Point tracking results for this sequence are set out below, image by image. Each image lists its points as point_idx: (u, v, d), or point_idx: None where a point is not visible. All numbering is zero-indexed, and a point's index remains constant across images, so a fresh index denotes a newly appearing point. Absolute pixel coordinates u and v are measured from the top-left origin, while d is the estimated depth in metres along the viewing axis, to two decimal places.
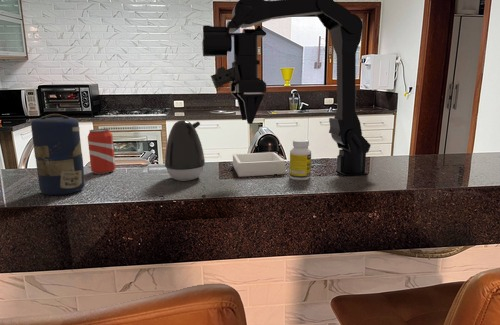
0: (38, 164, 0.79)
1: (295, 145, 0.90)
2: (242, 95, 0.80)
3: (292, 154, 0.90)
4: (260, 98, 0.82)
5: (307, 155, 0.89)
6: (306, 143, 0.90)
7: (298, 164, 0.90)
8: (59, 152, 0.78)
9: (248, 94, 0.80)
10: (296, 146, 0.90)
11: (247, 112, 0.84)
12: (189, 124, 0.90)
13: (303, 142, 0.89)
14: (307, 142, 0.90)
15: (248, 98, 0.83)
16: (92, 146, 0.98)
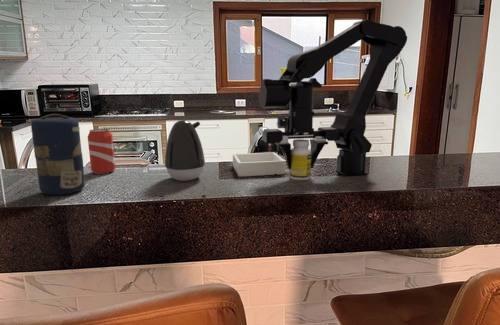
0: (38, 164, 0.79)
1: (295, 145, 0.90)
2: None
3: (292, 154, 0.90)
4: None
5: (307, 155, 0.89)
6: (306, 143, 0.90)
7: (299, 164, 0.90)
8: (59, 152, 0.78)
9: None
10: (296, 146, 0.90)
11: (285, 158, 0.92)
12: (189, 124, 0.90)
13: (303, 142, 0.89)
14: (307, 142, 0.90)
15: None
16: (92, 146, 0.98)
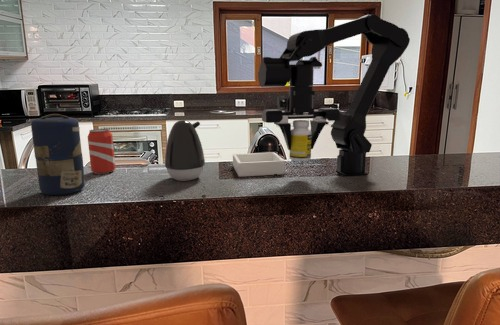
0: (38, 164, 0.79)
1: (295, 125, 0.89)
2: (274, 122, 0.91)
3: (292, 135, 0.89)
4: None
5: (307, 135, 0.88)
6: (306, 123, 0.89)
7: (299, 144, 0.89)
8: (59, 152, 0.78)
9: (275, 122, 0.90)
10: (296, 126, 0.89)
11: (285, 139, 0.91)
12: (189, 124, 0.90)
13: (303, 122, 0.88)
14: (307, 122, 0.89)
15: None
16: (92, 146, 0.98)
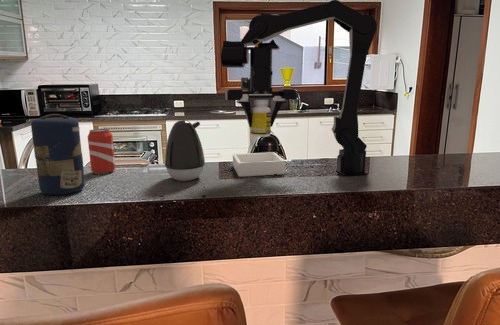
0: (38, 164, 0.79)
1: (255, 104, 0.96)
2: (236, 101, 0.98)
3: (253, 112, 0.96)
4: None
5: (266, 113, 0.95)
6: (265, 102, 0.95)
7: (258, 121, 0.96)
8: (59, 152, 0.78)
9: (237, 101, 0.97)
10: (256, 104, 0.96)
11: (246, 116, 0.98)
12: (189, 124, 0.90)
13: (262, 100, 0.95)
14: (266, 101, 0.96)
15: None
16: (92, 146, 0.98)
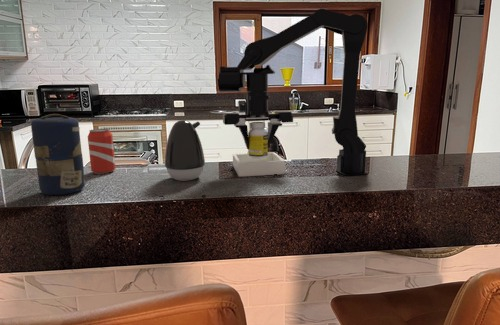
0: (38, 164, 0.79)
1: (252, 127, 0.98)
2: (234, 124, 1.01)
3: (250, 135, 0.98)
4: None
5: (263, 136, 0.98)
6: (262, 125, 0.98)
7: (255, 144, 0.98)
8: (59, 152, 0.78)
9: (234, 124, 0.99)
10: (253, 127, 0.98)
11: (244, 139, 1.01)
12: (189, 124, 0.90)
13: (259, 124, 0.98)
14: (263, 124, 0.98)
15: None
16: (92, 146, 0.98)
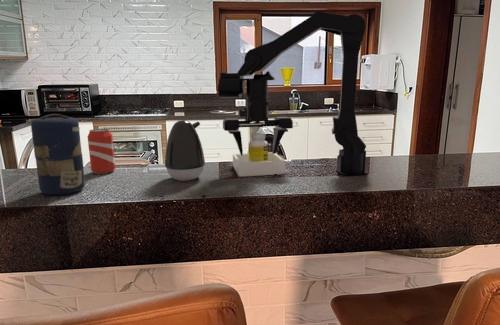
0: (38, 164, 0.79)
1: (252, 137, 0.99)
2: None
3: (250, 146, 0.99)
4: None
5: (263, 147, 0.98)
6: (262, 136, 0.99)
7: (255, 155, 0.99)
8: (59, 152, 0.78)
9: (228, 130, 0.99)
10: (253, 138, 0.99)
11: (238, 145, 1.01)
12: (189, 124, 0.90)
13: (259, 135, 0.98)
14: (263, 135, 0.99)
15: None
16: (92, 146, 0.98)
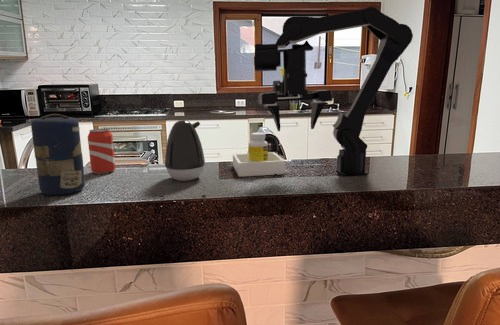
0: (38, 164, 0.79)
1: (252, 138, 0.99)
2: None
3: (250, 146, 0.99)
4: None
5: (263, 147, 0.98)
6: (262, 136, 0.99)
7: (255, 155, 0.99)
8: (59, 152, 0.78)
9: (264, 105, 0.95)
10: (253, 138, 0.99)
11: (274, 120, 0.96)
12: (189, 124, 0.90)
13: (259, 135, 0.98)
14: (263, 135, 0.99)
15: None
16: (92, 146, 0.98)
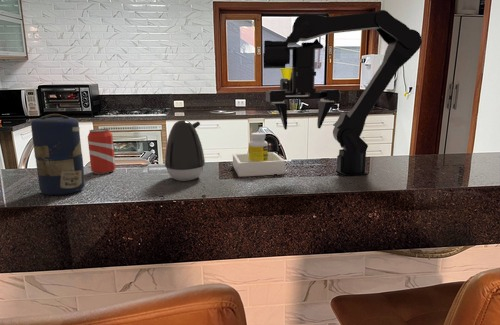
0: (38, 164, 0.79)
1: (252, 137, 0.99)
2: None
3: (250, 146, 0.99)
4: None
5: (263, 147, 0.98)
6: (262, 136, 0.99)
7: (255, 155, 0.99)
8: (59, 152, 0.78)
9: (272, 103, 0.94)
10: (253, 138, 0.99)
11: (281, 119, 0.95)
12: (189, 124, 0.90)
13: (259, 135, 0.98)
14: (263, 135, 0.99)
15: None
16: (92, 146, 0.98)
